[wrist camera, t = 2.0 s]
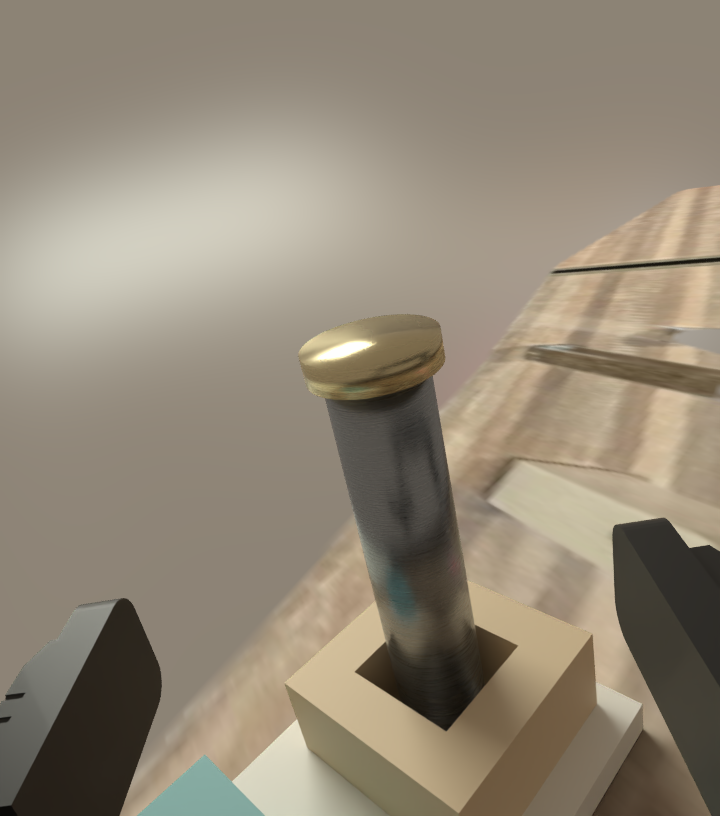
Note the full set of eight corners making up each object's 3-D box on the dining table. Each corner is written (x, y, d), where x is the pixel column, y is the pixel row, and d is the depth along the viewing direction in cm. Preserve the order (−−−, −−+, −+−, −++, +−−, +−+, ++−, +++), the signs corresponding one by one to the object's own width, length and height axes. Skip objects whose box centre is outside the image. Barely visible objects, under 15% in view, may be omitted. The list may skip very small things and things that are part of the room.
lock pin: (440, 666, 31) (366, 310, 23) (524, 714, 28) (470, 319, 20) (376, 736, 28) (269, 358, 21) (460, 798, 25) (371, 378, 18)
